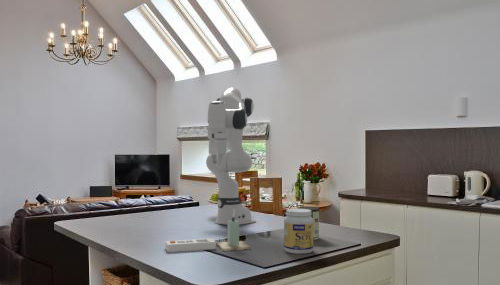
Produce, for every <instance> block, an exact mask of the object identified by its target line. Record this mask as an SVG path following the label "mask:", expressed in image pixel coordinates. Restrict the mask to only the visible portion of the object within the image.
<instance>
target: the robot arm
mask: <svg viewBox="0 0 500 285" xmlns="http://www.w3.org/2000/svg"><path fill="white" fill-rule="evenodd" d="M254 106H255V104H254V102H253V99H252V98H251V97H250V98H249V97H242V93H241V91H240V90H239V89H238V88H236V87H234V86H233V87H229V88H227V89H226V90H224V91H223V92H222V94H221V96H218V98H216V100H212V101H210V102H209V103H208V110H207V124H208V126H207V139H209V140H208V156H207V158H206V161H205V164H206V167H207V169H208V170H209V171H210V172H211V173H212V174H213V175H214V177H215V178H216V180H217V187H218V197H217V207H218V208H217V215H216V220H215V223H216V224H218V225H227V226H228V221H230V220H232V217H235V220H237V221H239V226H240V225H246V224H252V223H256V219H254V218H252V212H251V211H250V209H249V208H247V207H246V206H245V205H244V204H243V202H244V203H245V201H246V200H245V197H240V196H239V194H240V193H239V189H240V187H239V183H238V181H237V180H236V179H234V178H233V177H231V176H230V174H229V173H245V172H248V171H250V169H251V168H252V165H253V159H252V157H251V155H250V154H249V153H247V152H246V150H244V146H243V133H244V129H245V127H246V126H247V124H248V118H249V117H250V116H251V115H252V114H253V112H254V109H255V108H254ZM227 150H229V151H230V152H227Z"/></svg>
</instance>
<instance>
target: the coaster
mask: <svg viewBox="0 0 500 285" xmlns="http://www.w3.org/2000/svg"><path fill="white" fill-rule="evenodd" d="M216 247H218V248H219V249H220V250H223V251H222V252H227V251H229V252H230V251H231V250H232V251H243V250H244V249H247V250H251V249H252V247H251V245H249V244H247V243H246V242H245V241H243V240H239V245H236V246H229V245H228V244H227V241H222V242H221V241H219V242H217V241H216ZM232 251H231V252H232Z"/></svg>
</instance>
